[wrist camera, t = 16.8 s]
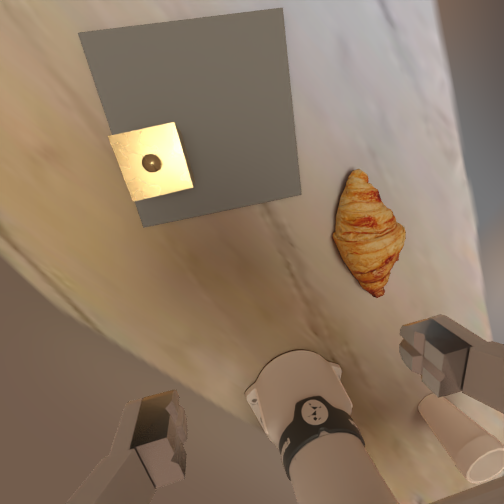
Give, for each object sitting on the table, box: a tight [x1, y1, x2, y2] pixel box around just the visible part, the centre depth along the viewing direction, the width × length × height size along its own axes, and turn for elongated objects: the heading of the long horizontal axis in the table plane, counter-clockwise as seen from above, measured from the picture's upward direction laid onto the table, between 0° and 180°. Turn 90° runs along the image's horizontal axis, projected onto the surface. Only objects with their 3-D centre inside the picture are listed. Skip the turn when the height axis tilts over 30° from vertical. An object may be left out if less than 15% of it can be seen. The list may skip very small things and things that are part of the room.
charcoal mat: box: [78, 8, 301, 228], centre depth 32 cm, size 21×22×1 cm
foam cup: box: [418, 394, 504, 483], centre depth 53 cm, size 10×9×13 cm
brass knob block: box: [108, 122, 195, 202], centre depth 28 cm, size 6×6×9 cm
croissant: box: [333, 169, 406, 298], centre depth 39 cm, size 21×10×8 cm, turn 19°
